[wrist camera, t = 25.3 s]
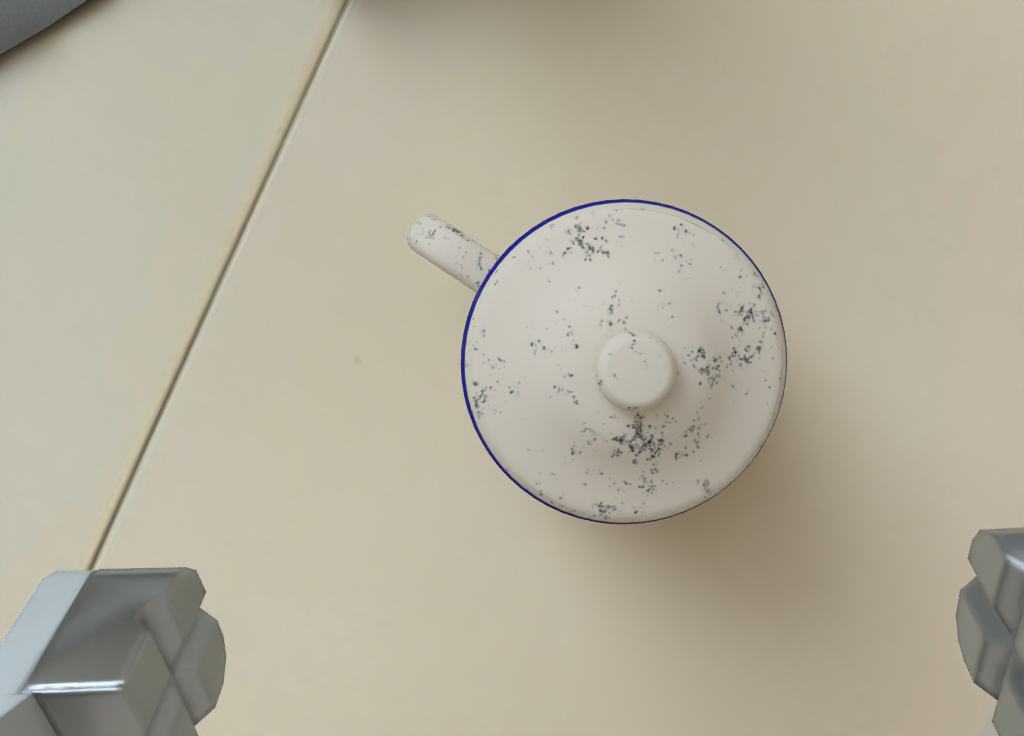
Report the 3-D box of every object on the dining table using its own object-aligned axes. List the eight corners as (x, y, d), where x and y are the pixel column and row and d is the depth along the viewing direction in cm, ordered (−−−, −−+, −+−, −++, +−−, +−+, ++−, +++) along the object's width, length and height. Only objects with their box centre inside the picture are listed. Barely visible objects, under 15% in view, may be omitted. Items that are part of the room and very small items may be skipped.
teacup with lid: (768, 314, 34) (898, 318, 22) (632, 516, 34) (688, 624, 23) (498, 134, 33) (484, 42, 22) (364, 341, 34) (281, 359, 22)
